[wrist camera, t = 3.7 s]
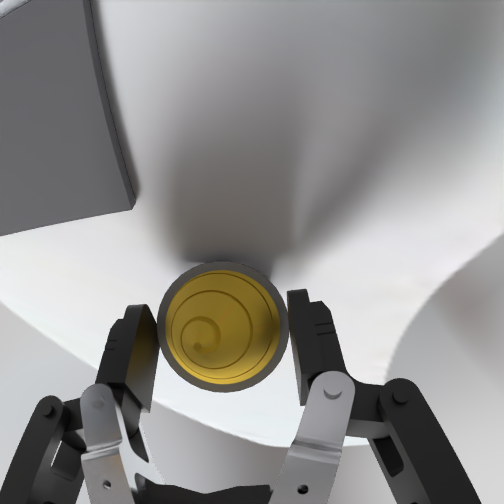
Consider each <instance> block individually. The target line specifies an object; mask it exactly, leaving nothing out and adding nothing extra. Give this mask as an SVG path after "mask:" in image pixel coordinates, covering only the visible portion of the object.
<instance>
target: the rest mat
mask: <svg viewBox="0 0 504 504" xmlns="http://www.w3.org/2000/svg"><path fill="white" fill-rule="evenodd" d="M135 203H136V201H135V198H134V194H133V191H132V188H131V184H130V181H129V178H128V174H127V171H126V167H125V164H124V160H123V157H122V153H121V149H120V146H119V142H118V138H117V134H116V130H115V126H114V122H113V118H112V114H111V110H110V106H109V102H108V97H107V93H106V88H105V84H104V79H103V74H102V69H101V64H100V59H99V54H98V49H97V43H96V38H95V32H94V26H93V19H92V13H91V6H90V0H31V1H30V2H28V3H26V4H24V5H22V6H21V7H19V8H17V9H16V10H14V11H12V12H11V13H9V14H8V15H6V16H4V17H3V18H1V19H0V236H4V235H8V234H13V233H17V232H21V231H26V230H30V229H35V228H39V227H44V226H49V225H54V224H58V223H63V222H68V221H73V220H78V219H84V218H89V217H94V216H100V215H105V214H111V213H116V212H122V211H128V210H132V209H133V207H134V205H135Z"/></svg>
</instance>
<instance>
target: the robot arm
mask: <svg viewBox="0 0 504 504" xmlns="http://www.w3.org/2000/svg"><path fill="white" fill-rule="evenodd" d="M287 306H288V323H289V332H290V338H291V345H292V352H293V359H294V365H295V372H296V379H297V386H298V393H299V401H300V406H305V405H306V406H305V409H304V412H303V415H302V418H301V422H300V425H299V428H298V431H297V434H296V436H295V439H294V441H293V442H292V444H291V446H290V448H289V451H288V454H287V456H286V459H285V462H284V465H283V468H282V470H281V473H280V476H279V478H278V481H277V483H276V486H275V488H274V489H271V488H270V486H269V485H256V486H237V487H233V488H229V489H225V490H221V491H216V492H212V493H208V494H202V493H199V492H195V491H192V490H188V489H184V488H181V487H178V486H175V485H166V484H165V482H164V480H163V478H162V476H161V474H160V472H159V471H158V469H157V468H156V466H155V464H154V462H153V459H152V456H151V453H150V450H149V447H148V443H147V440H146V437H145V433H144V430H143V427H142V424H141V422H140V421H139V419H140V413H150V408H151V401H152V394H153V387H154V380H155V374H156V368H157V362H158V355H159V350H160V345H159V341H158V335H157V323H156V321H155V319H154V317H153V315H152V313H151V311H150V309H149V307H148V305H147V304H140V305H129V306H127V308H126V311H125V315H124V318H123V319H118V320H117V321H116V322H115V324H114V325H113V326H112V328H111V329H110V332H109V335H108V339H107V342H106V345H105V351H104V352H103V356H102V359H101V363H100V367H99V370H98V374H97V378H96V381H95V384H94V385H91V386H89V387H88V388H87V389H86V390H85V391H84V392H83V394H82V396H81V397H80V398H77V399H74V400H70V401H65V402H62V401H61V400H60V399H59V398H57V397H56V396H51V395H50V396H46V397H44V398H43V399H41V400H40V401H39V403H38V404H37V406H36V408H35V410H34V412H33V414H32V416H31V418H30V421H29V423H28V425H27V427H26V429H25V432H24V434H23V436H22V438H21V441H20V443H19V445H18V448H17V450H16V453H15V455H14V457H13V460H12V462H11V464H10V467H9V470H8V472H7V475H6V477H5V480H4V483H3V486H2V488H1V491H0V504H75V503H76V500H77V497H78V495H79V492H80V489H81V486H82V483H83V480H84V478H85V482H86V486H87V490H88V495H89V499H90V502H91V504H327V502H328V499H329V496H330V492H331V489H332V486H333V483H334V479H335V476H336V472H337V469H338V465H339V462H340V458H341V453H342V446H343V442H344V438H345V436H352V437H361V438H367V440H368V442H369V444H370V446H371V448H372V450H373V452H374V454H375V457H376V459H377V461H378V463H379V465H380V467H381V470H382V472H383V473H384V476H385V478H386V480H387V482H388V485H389V487H390V489H391V491H392V493H393V496H394V497H395V500H396V502H397V504H481V502H480V499H479V498H478V496H477V493H476V491H475V489H474V487H473V485H472V483H471V481H470V480H469V478H468V476H467V474H466V472H465V470H464V468H463V466H462V464H461V462H460V460H459V459H458V457H457V455H456V453H455V451H454V449H453V447H452V446H451V444H450V442H449V440H448V438H447V437H446V435H445V433H444V431H443V429H442V428H441V426H440V424H439V422H438V421H437V419H436V417H435V416H434V414H433V412H432V410H431V409H430V407H429V405H428V404H427V402H426V400H425V399H424V397H423V395H422V393H421V392H420V390H419V388H418V387H417V386H416V385H415V384H414V383H413V382H412V381H410V380H408V379H404V378H397V379H393V380H390V381H389V382H387V383H386V384H385V385H373V384H365V383H362V382H359V381H357V380H355V379H354V378H353V377H351V376H350V374H349V373H348V372H347V370H346V367H345V364H344V360H343V356H342V352H341V348H340V344H339V341H338V337H337V334H336V330H335V326H334V323H333V319H332V315H331V311H330V310H329V308H328V307H327V306H326V305H325V304H324V303H323V302H322V301H317V302H310V301H309V296H308V292H307V289H299V290H291V291H287ZM60 441H62V443H61V445H60V447H59V450H58V452H57V455H56V457H55V460H54V463H53V465H52V467H51V463H52V460H53V458H54V455H55V453H56V450H57V448H58V445H59V443H60Z"/></svg>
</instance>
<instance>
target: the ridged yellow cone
mask: <svg viewBox="0 0 504 504" xmlns="http://www.w3.org/2000/svg"><path fill="white" fill-rule="evenodd" d="M157 335H158V341H159V345H160V348H161V350H162V353H163V355H164V357H165V359H166V360H167V362H168V363H169V365H170V366H171V367H172V369H173V370H174V371H175V372H176V373H177V374H178V375H179V376H180V377H182V378H183V379H184V380H186V381H187V382H189V383H190V384H192V385H194V386H196V387H199V388H201V389H204V390H208V391H212V392H225V393H228V392H235V391H241V390H244V389H246V388H249V387H252V386H254V385H255V384H257V383H259V382H261V381H262V380H264V379H265V378H266V377H267V376H268V375H269V374H270V373H271V372H272V371H273V370H274V369H275V368H276V366H277V365H278V364H279V362H280V361H281V359H282V357H283V354H284V352H285V350H286V347H287V343H288V338H289V323H288V312H287V309H286V306H285V303H284V301H283V298H282V297H281V295H280V294H279V292H278V290H277V289H276V287H275V286H274V285H273V284H272V283H271V282H270V281H269V280H268V279H267V278H266V277H265V276H263V275H262V274H261V273H259V272H258V271H256V270H255V269H252V268H250V267H248V266H246V265H243V264H239V263H235V262H229V261H215V262H210V263H204V264H202V265H199V266H196V267H194V268H192V269H190V270H188V271H187V272H185V273H184V274H182V275H181V276H180V277H179V278H178V279H177V280H175V281H174V282H173V283H172V285H171V286H170V287H169V289H168V290H167V292H166V293H165V295H164V297H163V299H162V302H161V304H160V307H159V311H158V316H157Z"/></svg>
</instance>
